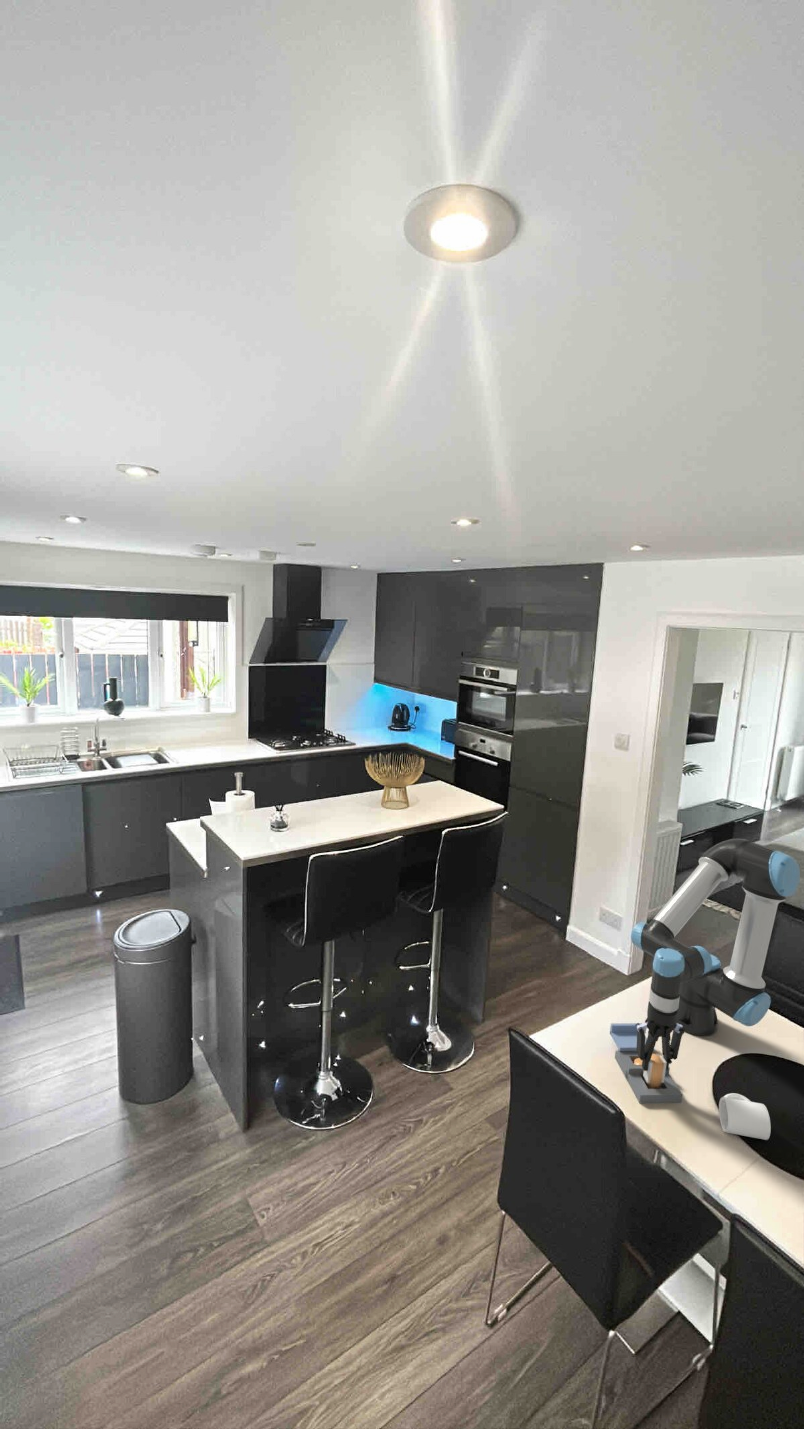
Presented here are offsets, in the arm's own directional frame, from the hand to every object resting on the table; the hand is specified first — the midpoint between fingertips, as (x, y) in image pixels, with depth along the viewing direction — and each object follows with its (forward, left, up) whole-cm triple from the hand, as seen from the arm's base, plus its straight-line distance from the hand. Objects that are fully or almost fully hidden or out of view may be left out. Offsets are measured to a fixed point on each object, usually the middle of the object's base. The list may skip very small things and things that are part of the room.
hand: (653, 1079), depth 175 cm
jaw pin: (0, 0, -2) cm, 2 cm away
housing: (0, -4, -3) cm, 5 cm away
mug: (-18, +12, -3) cm, 22 cm away
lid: (0, -15, 0) cm, 15 cm away
